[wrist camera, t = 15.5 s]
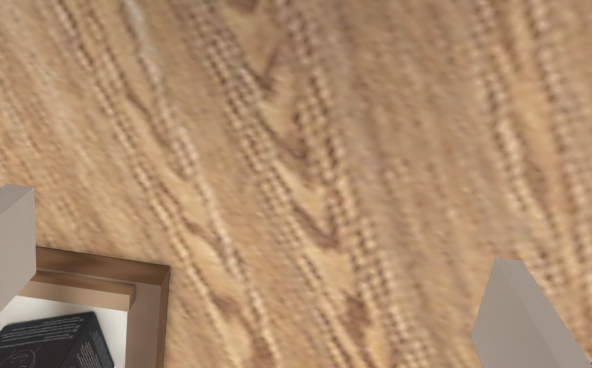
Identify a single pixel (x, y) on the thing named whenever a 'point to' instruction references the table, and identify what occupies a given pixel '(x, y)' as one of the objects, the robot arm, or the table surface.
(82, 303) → the stand
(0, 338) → the box
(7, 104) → the table surface
